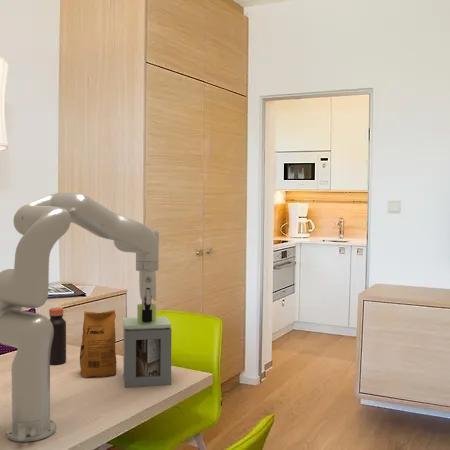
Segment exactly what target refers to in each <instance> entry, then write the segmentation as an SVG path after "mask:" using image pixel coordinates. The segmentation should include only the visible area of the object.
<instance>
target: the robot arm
mask: <svg viewBox="0 0 450 450" xmlns="http://www.w3.org/2000/svg"><path fill="white" fill-rule="evenodd" d="M71 223H72V224H75V225H77V226H78V227H81V228H82V229H84V230H86V231H88V232H89V233H91V234H93V235H94V236H96V237H99V238H103V239H106V240H111V241H113V245H114V247H115V248H116V249H117V250H118V251H120V252H124V253H130V254H131V253H132V254H133V253H135V271H137V272H138V273H139V275H138V276H139V277H138V278H139V279H138V283H139V284H138V286H139V297H140V299H141V304H143V310H142V322H151V321H152V304H153V301H154V302H156V300H157V274H156V272H157V271H159V267H160V266H159V265H160V264H159V262H160V261H159V258H160V257H159V256H160V255H159V253H160V252H159V251H160V232H159V230H158V229H156V228H150V227H148V226H147V225H145V224H143V223H141V222H139V221H137V220H134V219H132V218H129V217H126V216H124V215H121V214H119V213H116V212H114V211H112V210H110V209H108V208H106V207H105V206H103V205H102V204H100V203H99V202H98V201H96V200H94V199H93V198H91V197H90V196H88V195H86V194H84V193H79V192H56V193H53V194H50V195H47V196H45V197H42V198H40V199H36V200H34V201H32V202H29V203H27V204H24V205H22V206H21V207H19V209H18V210H17V211H16V212H15V213H14V216H13V225H14V226H13V227H14V228H15V230H16V232H18V233H19V234H20V235H22V237H21V238H20V240H19V241H18V243H17V245H16V248H15V253H14V264H13V268H7V269H4V270H2V271H0V344H1V345H4V346H9V347H13V348H16V349H17V351H16V353H15V356H14V357H13V360H12V363H11V424H10V425H9V426H7V427H6V429H5V436H6V437H7V439H9V440H11V441H15V442H21V443H23V442H24V443H26V442H34V441H39V440H43V439H46V438H48V437H50V436H52V435H53V434H54V433H56V431H57V423H56V421H55V420H52V419H51V365H50V352H51V345H52V340H53V335H54V328H53V325H52V323H51V321H50V318H48V317H47V316H45V315H43V314H40V313H38V312H37V313H36V312H32V311H24V310H23V308H26V309H37V308H40V307H42V306H44V305H45V303H46V302H47V300H48V297H49V296H48V295H49V281H50V280H49V276H50V272H49V271H50V268H49V267H50V266H49V265H50V255H51V251H52V249H53V247H54V246H55V244H56V243H57V242H58V241H59V240H60V239H61V238H62V237H63V236H64V235H65V234H66V233H67V231H68V230H69V228H70V225H71ZM152 300H153V301H152Z"/></svg>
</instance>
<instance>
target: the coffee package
mask: <svg viewBox="0 0 450 450" xmlns="http://www.w3.org/2000/svg"><path fill="white" fill-rule="evenodd" d="M83 316H84V317H83V326H82V336H81V338H82V340H81V344H80V351H79V366H80V367H79V368H80V376H82V378H85V379H86V378H92V377H97V378H104V377H105V378H106V377H110V376H114V375H116V372H117V355H116V310H115V309H113V310H108V311H103V312H102V311H101V312H94V311H84V314H83Z"/></svg>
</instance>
